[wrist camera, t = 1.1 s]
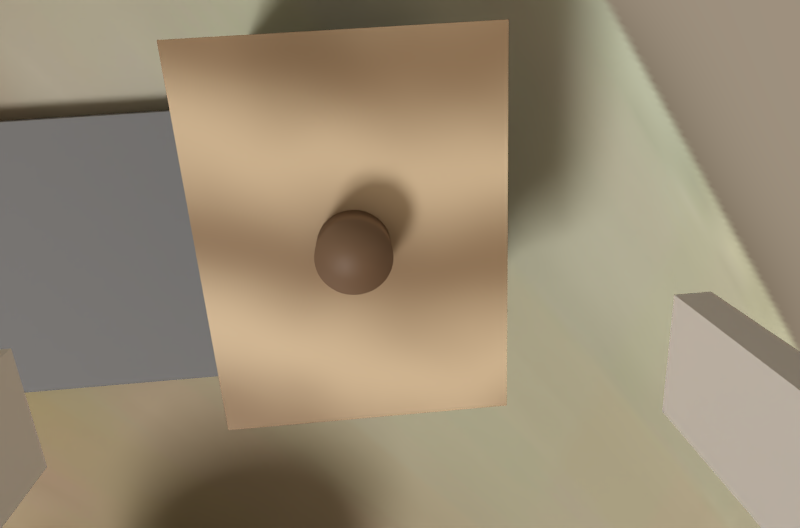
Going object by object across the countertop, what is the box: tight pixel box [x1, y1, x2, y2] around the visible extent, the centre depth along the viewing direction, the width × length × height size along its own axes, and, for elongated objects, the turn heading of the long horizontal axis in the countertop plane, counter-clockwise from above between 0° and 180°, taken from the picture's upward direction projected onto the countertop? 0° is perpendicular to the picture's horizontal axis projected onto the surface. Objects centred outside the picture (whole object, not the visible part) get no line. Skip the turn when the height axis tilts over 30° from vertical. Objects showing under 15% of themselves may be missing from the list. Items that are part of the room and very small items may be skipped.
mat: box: [0, 110, 218, 393], centre depth 26 cm, size 12×12×1 cm
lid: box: [157, 19, 509, 430], centre depth 19 cm, size 13×10×2 cm
